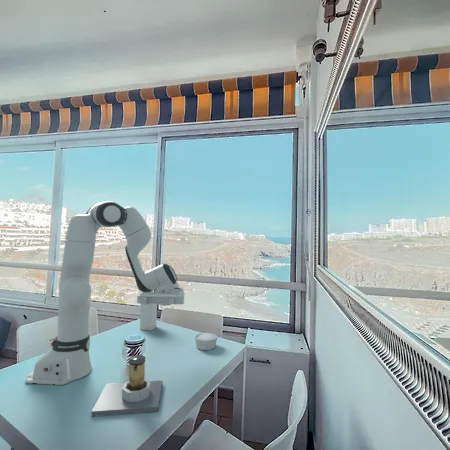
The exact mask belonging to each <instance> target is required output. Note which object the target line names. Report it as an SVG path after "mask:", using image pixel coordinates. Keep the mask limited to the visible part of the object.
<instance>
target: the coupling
mask: <svg viewBox="0 0 450 450" xmlns="http://www.w3.org/2000/svg"><path fill="white" fill-rule="evenodd" d="M128 364H129V369H128V370H129V373H128V374H129V375H128V381H129V390H130V391H139V390H141V389H143V388H144V378H145V375H146V374H145V371H146V369H145V368H146V356H145V355H143V354H142V355H141V354H138V355H133V356H130V357H129V359H128Z"/></svg>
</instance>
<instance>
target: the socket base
mask: <svg viewBox="0 0 450 450" xmlns="http://www.w3.org/2000/svg"><path fill="white" fill-rule="evenodd" d="M162 387H163V380H162V379H161V380H148V379H146V378H145V377H144V388H143V389H141V390H139V391H130V390H129V380H128V381H126V382H113V383H112V382H111V383H109V382H108V383H106V384H105V386H104V388H103V389H102V391H101V393H100V395H99V397H98V399H97V401H96V402H95V405H94V407H93V408H92V410H91V417H95V416H94V415H104V416H114V415H113V414H119V415H129V414H130V415H131V414H132V415H133V414H143V413H147V414H148V413H158V412H159V408H160V400H161V394H162V389H163V388H162ZM111 414H112V415H111Z"/></svg>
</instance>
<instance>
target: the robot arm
mask: <svg viewBox="0 0 450 450" xmlns="http://www.w3.org/2000/svg"><path fill="white" fill-rule="evenodd" d="M86 211H87V212H86V213H85V214H80V213H79V214H77V215H74V216H72V218H71V219H70V221H69V223H68V227H67V230H66V234H65V241H64V248H63V254H62V255H63V256H62V263H61V269H60V276H59V277H60V278H59V283H58V284H59V285H58V311H57V312H58V316H57V336H56V337H54V338H55V339H53V340H52V342H51V343H50V347H51V349H49V350H48V351H47V352H45V354H43V355H42V356H41V357H39V358H38V360H37V361H36V363H35V364H34V368H33V370H31V372H29V374H28V375H27V376H26V378H25V379H26V380H25V383H26V384H32V383H37V384H36V385H53V384H55V386H56V385H57V386H62V385H66V384H68V383H71V382H73V381H76V380H79V379H81V378H84V377H85V376H87V375H88V374H89V375H90V373H91V372H92V370H93V367H92V364H91V358H90V346H91V338H90V333H89V332H90V330H89V329H90V328H89V327H90V309H91V299H92V287H91V286H92V285H91V284H90V279H91V278H90V277H91V271H92V267H93V263H94V258H95V257H94V256H95V248H96V240H97V234H98V231H99V230H100V229H101V228H112V227H117V226H118V228H120V230H121V231H122V234H123V235H124V237H125V240H126V246H125V255H126V258H127V261H128V264H129V266H130V268H131V271H132V274H133V276H134V279H135V283H136V287H137V289H138V291H140V292H141V293H140V294H138V295H137V296H136V304H137V303H138V304H139V305H141V304H157V305H160V306H162V307H163V306H164V307H165V306H171V305H184V304H185V290H184V288H180V285H179V283H178V282H177V281H178V277H177V273H176V272H175V270H174V268H173V267H172V266H171V265H169V264H168V263H162V264H159V265H158V266H155V267H153V268H151V269H149V270H147V271H145V270H144V269H143V267H142V264H141V261H140V259H139V255H140V253H141V252H142V251H143V250H144V249H145V248H146V247H147V246H148V244H149V242H150V241H151V238H152V232H151V229H150V228H149V225H148V224H147V222H146V220H145V219H144V217H143V215H142V214H141V212H139V211H138V210H137V209H136V208H135V207H134V206H125V207H123V206H121V205H120V204H118V203H116V202H114V201H110V200H109V201H107V200H106V201H105V200H104V201H100V202H96V203H95V204H93V205H92V206H91V207H89V209H88V210H86Z"/></svg>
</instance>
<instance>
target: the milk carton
mask: <svg viewBox="0 0 450 450" xmlns="http://www.w3.org/2000/svg"><path fill="white" fill-rule="evenodd" d="M157 308H158V304H140V312H139V313H140V314H139V315H140V316H139V317H140V318H139V319H140V320H139V321H140V323H139V330H140V331H141V330H143V331H153V330H155V328H157V317H158V316H157V315H158V309H157Z"/></svg>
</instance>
